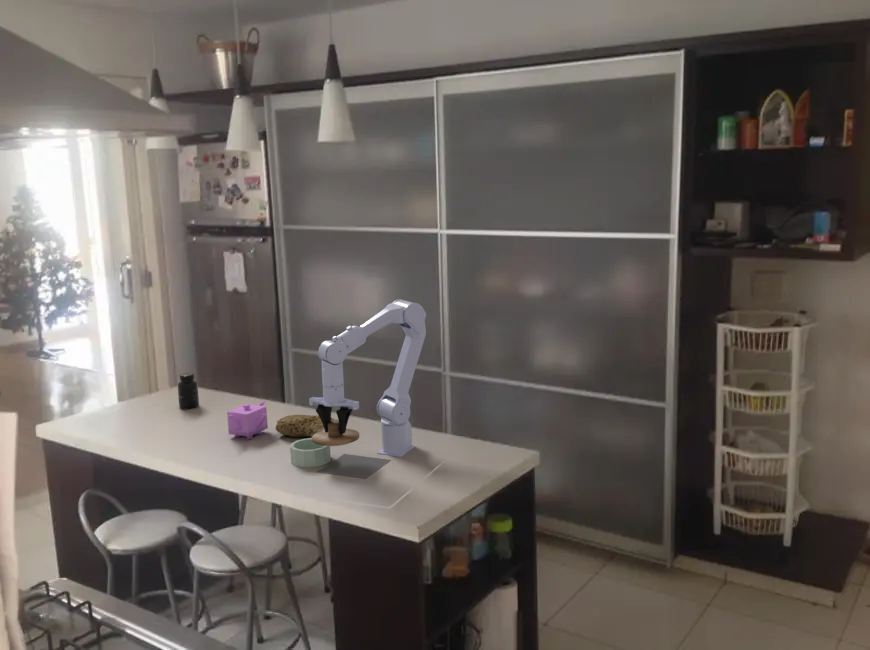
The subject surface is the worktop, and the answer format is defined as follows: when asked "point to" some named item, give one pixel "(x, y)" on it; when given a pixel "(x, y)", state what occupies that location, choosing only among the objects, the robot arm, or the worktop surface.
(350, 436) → the lid
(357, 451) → the worktop surface
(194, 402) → the supplement bottle
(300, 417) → the sponge
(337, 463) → the mat
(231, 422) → the teapot
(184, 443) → the worktop surface
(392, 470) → the worktop surface
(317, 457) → the bowl
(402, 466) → the worktop surface
